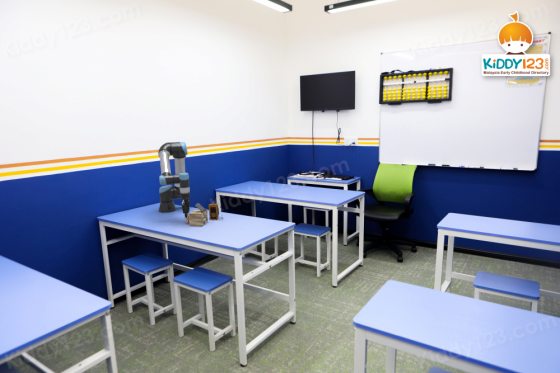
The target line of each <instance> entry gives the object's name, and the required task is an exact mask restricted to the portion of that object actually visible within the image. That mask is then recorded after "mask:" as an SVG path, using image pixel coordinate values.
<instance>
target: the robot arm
mask: <svg viewBox="0 0 560 373" xmlns="http://www.w3.org/2000/svg"><path fill="white" fill-rule="evenodd" d="M157 153H158V154H157V155H158V158H159V164H160V172H161V174H160V175H159V177H158V179H159V184H160V187H159V191H158V192H159V202H160V203H159V207H158V212H159V213H171V212H175V211H176V210H177V207H176V205H175V202H174V200H177V199H181V202H180V205H181V210H182V213H183V215H184V222H187V218H188V216H189V213H191V212H190V208H191V207H190V206H191V192H190V191H191V190H190V189H191V188H190V176H189V173H188V172H186V163H185V161H186V160H185V159H186V158H187V156H188V155H189V153H188V147H187V143H186V142H184V141H173V142H172V141H171V142H170V141H169V142H165V143H163V144H162V145H161V146H160V147H159V148H158V151H157ZM171 156H172V158H173V159H174V169H175V170H174V171H175V174H172V172H171V169H172V168H171V163H170V157H171ZM161 185H162V186H161ZM173 185H174V186H173Z"/></svg>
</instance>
